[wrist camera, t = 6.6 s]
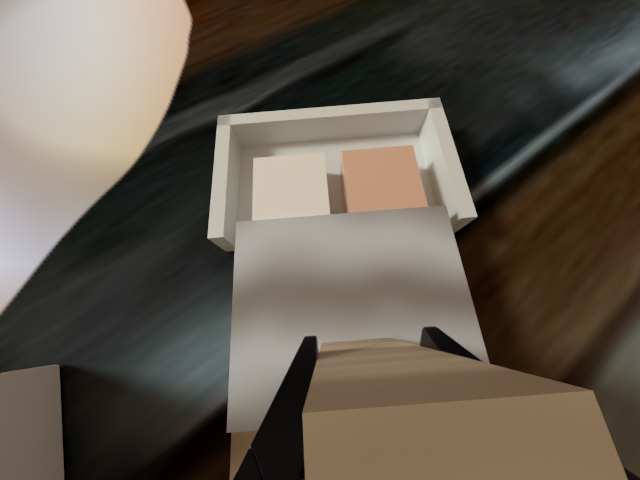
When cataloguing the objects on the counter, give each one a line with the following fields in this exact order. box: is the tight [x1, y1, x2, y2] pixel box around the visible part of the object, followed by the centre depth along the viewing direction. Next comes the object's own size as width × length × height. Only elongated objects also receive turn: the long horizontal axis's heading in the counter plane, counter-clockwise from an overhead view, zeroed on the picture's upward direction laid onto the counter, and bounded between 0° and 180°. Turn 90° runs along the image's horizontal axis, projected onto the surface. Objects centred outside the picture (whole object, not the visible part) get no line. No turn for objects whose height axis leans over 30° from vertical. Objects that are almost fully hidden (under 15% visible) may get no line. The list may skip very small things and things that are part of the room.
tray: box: [208, 98, 478, 252], centre depth 18 cm, size 10×17×3 cm, turn 95°
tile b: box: [340, 145, 428, 213], centre depth 17 cm, size 5×5×2 cm
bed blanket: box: [227, 205, 628, 480], centre depth 9 cm, size 11×13×12 cm
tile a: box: [252, 152, 330, 221], centre depth 17 cm, size 5×5×2 cm
